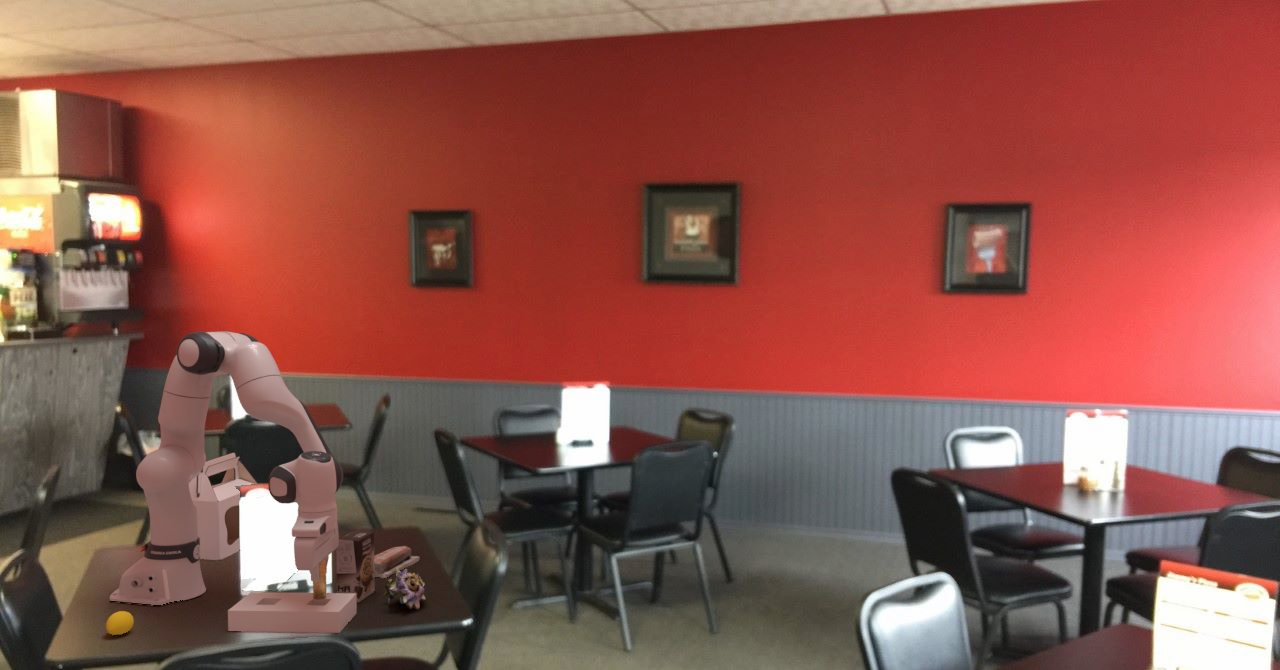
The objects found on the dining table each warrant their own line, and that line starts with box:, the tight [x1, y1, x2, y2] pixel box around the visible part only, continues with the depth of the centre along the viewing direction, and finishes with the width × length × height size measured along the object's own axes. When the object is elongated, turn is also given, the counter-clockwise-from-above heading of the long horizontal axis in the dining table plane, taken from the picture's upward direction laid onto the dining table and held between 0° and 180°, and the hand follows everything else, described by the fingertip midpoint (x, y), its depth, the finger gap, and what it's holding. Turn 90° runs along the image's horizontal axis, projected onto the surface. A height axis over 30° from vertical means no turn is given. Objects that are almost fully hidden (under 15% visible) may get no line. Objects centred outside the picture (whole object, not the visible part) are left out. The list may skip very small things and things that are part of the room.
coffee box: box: [335, 530, 376, 603], centre depth 253 cm, size 9×6×16 cm
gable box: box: [189, 452, 259, 561], centre depth 295 cm, size 22×13×28 cm, turn 170°
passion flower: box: [382, 568, 426, 610], centre depth 246 cm, size 11×11×12 cm
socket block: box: [227, 591, 358, 634], centre depth 235 cm, size 26×13×5 cm, turn 89°
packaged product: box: [374, 545, 421, 579], centre depth 278 cm, size 18×5×10 cm
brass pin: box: [312, 558, 327, 600], centre depth 234 cm, size 3×3×10 cm
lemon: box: [105, 610, 135, 636], centre depth 227 cm, size 7×5×5 cm
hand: (318, 577), depth 234 cm, fingers closed on brass pin, 3 cm apart
